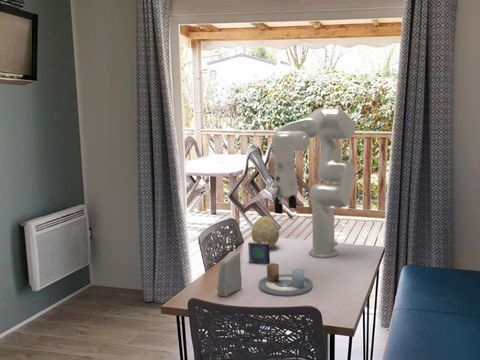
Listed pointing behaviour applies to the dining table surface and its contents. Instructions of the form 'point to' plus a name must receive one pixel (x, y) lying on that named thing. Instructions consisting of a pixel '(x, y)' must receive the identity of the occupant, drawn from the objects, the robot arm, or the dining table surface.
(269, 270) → the brown rounded cylinder
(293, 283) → the smooth blue-gray rounded cylinder
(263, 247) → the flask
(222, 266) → the decorative stone
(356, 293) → the dining table surface
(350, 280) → the dining table surface
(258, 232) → the fossilized egg
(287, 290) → the plate
